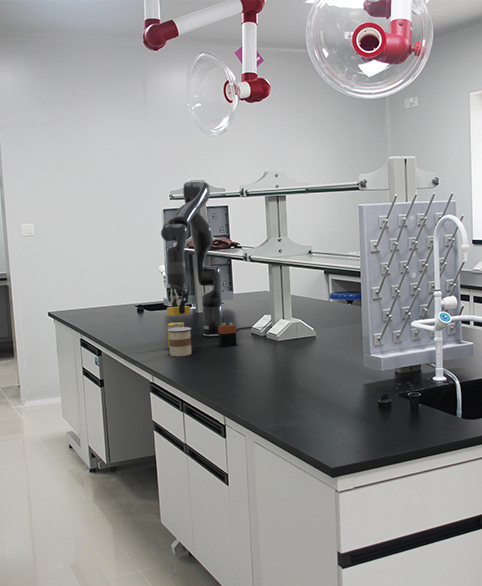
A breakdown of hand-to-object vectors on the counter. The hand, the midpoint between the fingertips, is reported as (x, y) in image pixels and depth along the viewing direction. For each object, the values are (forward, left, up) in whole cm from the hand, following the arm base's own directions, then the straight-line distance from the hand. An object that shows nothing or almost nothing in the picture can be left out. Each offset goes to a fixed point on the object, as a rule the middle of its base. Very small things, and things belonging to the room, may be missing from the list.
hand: (178, 312), depth 292 cm
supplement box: (-6, -13, -18) cm, 23 cm away
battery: (-24, 0, -18) cm, 30 cm away
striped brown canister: (0, 0, -17) cm, 17 cm away
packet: (0, 0, -1) cm, 1 cm away
